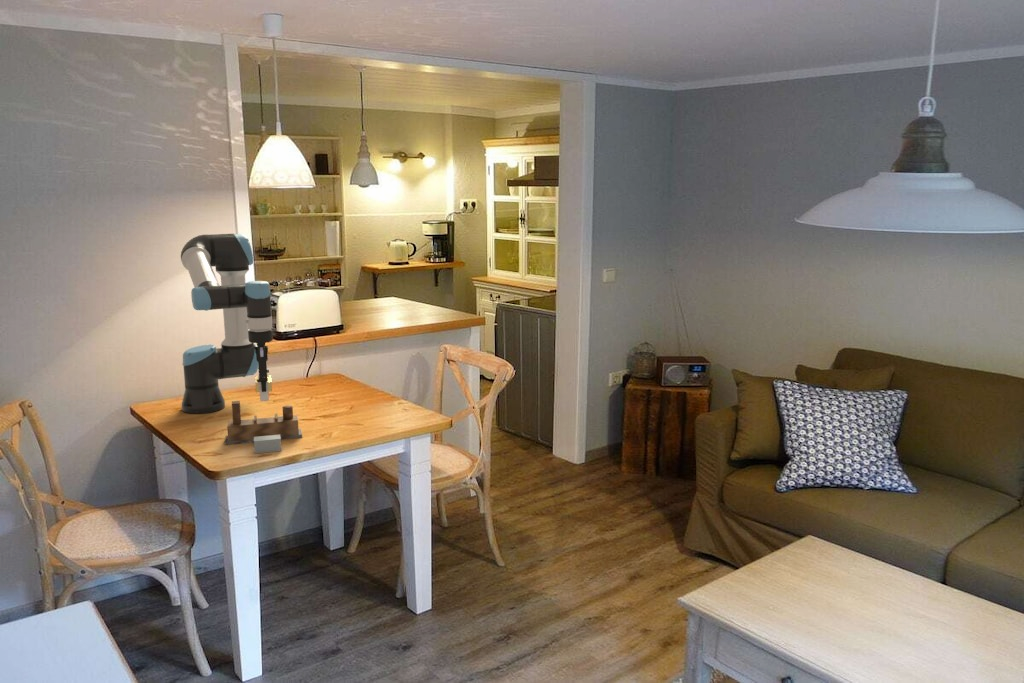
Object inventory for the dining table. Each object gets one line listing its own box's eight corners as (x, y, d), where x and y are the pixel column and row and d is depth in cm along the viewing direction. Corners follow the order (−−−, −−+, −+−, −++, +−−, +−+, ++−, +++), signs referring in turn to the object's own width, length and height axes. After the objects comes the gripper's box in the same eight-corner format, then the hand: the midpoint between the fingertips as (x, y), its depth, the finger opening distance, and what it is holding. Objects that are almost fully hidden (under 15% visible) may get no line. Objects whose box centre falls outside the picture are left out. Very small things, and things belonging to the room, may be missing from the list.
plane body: (225, 444, 246) (222, 406, 243) (225, 438, 252) (222, 400, 249) (302, 437, 253) (300, 399, 251) (300, 431, 259) (298, 394, 256)
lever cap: (255, 392, 245) (255, 381, 244) (255, 385, 253) (255, 374, 252) (272, 391, 246) (271, 380, 245) (271, 384, 254) (270, 373, 254)
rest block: (254, 449, 242) (253, 437, 241) (280, 446, 244) (280, 434, 244) (254, 453, 238) (253, 441, 237) (281, 450, 240) (280, 438, 240)
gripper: (248, 323, 254) (252, 388, 259) (247, 336, 234) (252, 406, 239) (271, 322, 257) (275, 387, 261) (273, 335, 236) (277, 404, 241)
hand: (264, 396), depth 250 cm, fingers closed on lever cap, 9 cm apart
